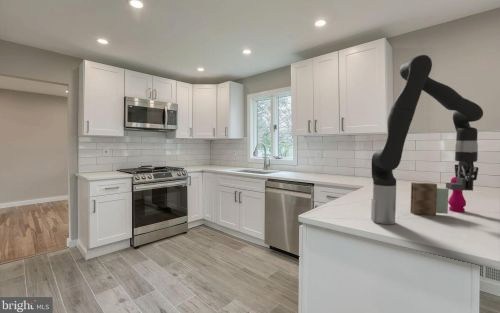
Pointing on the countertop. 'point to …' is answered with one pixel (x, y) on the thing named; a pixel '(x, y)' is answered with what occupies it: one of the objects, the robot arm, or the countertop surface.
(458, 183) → the block
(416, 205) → the brown upright flat box
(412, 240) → the countertop surface
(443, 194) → the sliding door
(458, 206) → the pepper mill
